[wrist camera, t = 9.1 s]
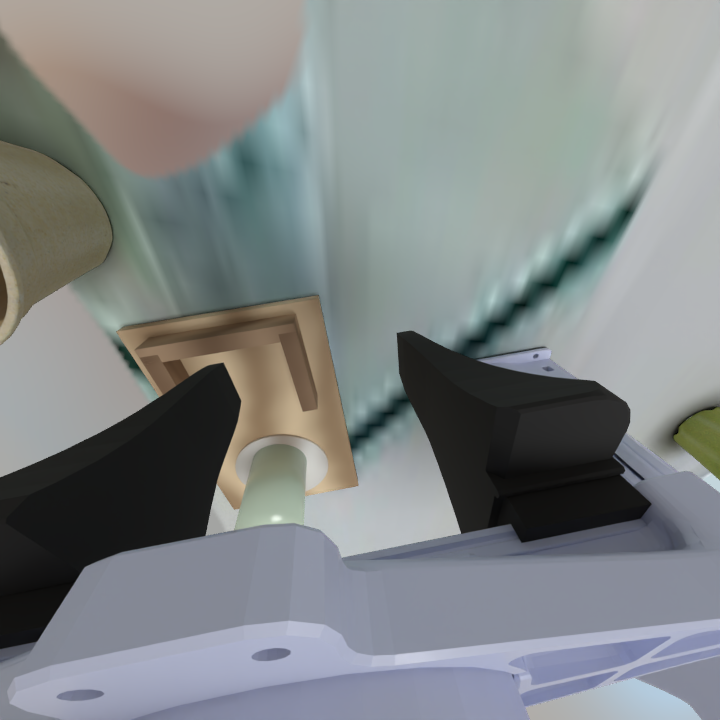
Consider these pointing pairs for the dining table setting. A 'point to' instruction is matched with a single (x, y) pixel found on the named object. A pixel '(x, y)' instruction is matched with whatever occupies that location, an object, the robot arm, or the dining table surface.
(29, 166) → the flower pot
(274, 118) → the dining table surface
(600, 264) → the dining table surface
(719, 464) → the plant pot
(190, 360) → the board
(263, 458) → the sage green cylinder
